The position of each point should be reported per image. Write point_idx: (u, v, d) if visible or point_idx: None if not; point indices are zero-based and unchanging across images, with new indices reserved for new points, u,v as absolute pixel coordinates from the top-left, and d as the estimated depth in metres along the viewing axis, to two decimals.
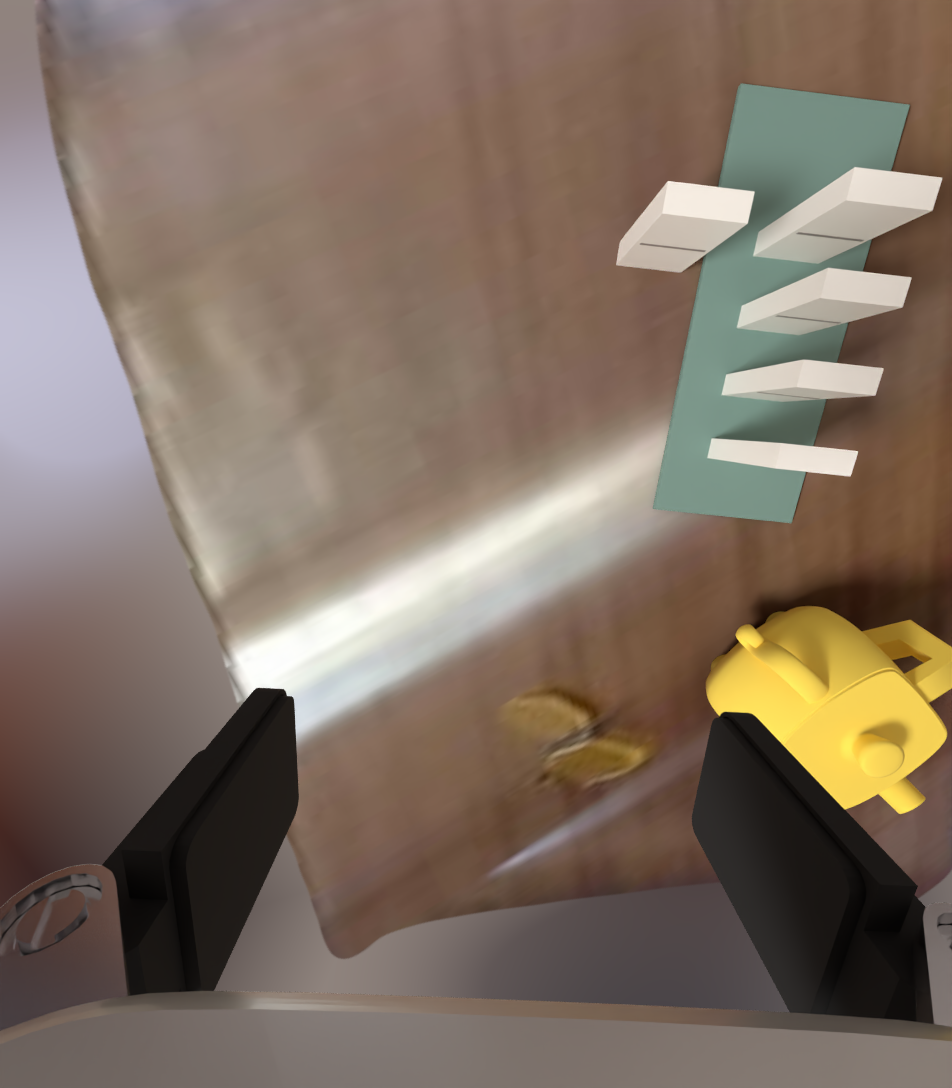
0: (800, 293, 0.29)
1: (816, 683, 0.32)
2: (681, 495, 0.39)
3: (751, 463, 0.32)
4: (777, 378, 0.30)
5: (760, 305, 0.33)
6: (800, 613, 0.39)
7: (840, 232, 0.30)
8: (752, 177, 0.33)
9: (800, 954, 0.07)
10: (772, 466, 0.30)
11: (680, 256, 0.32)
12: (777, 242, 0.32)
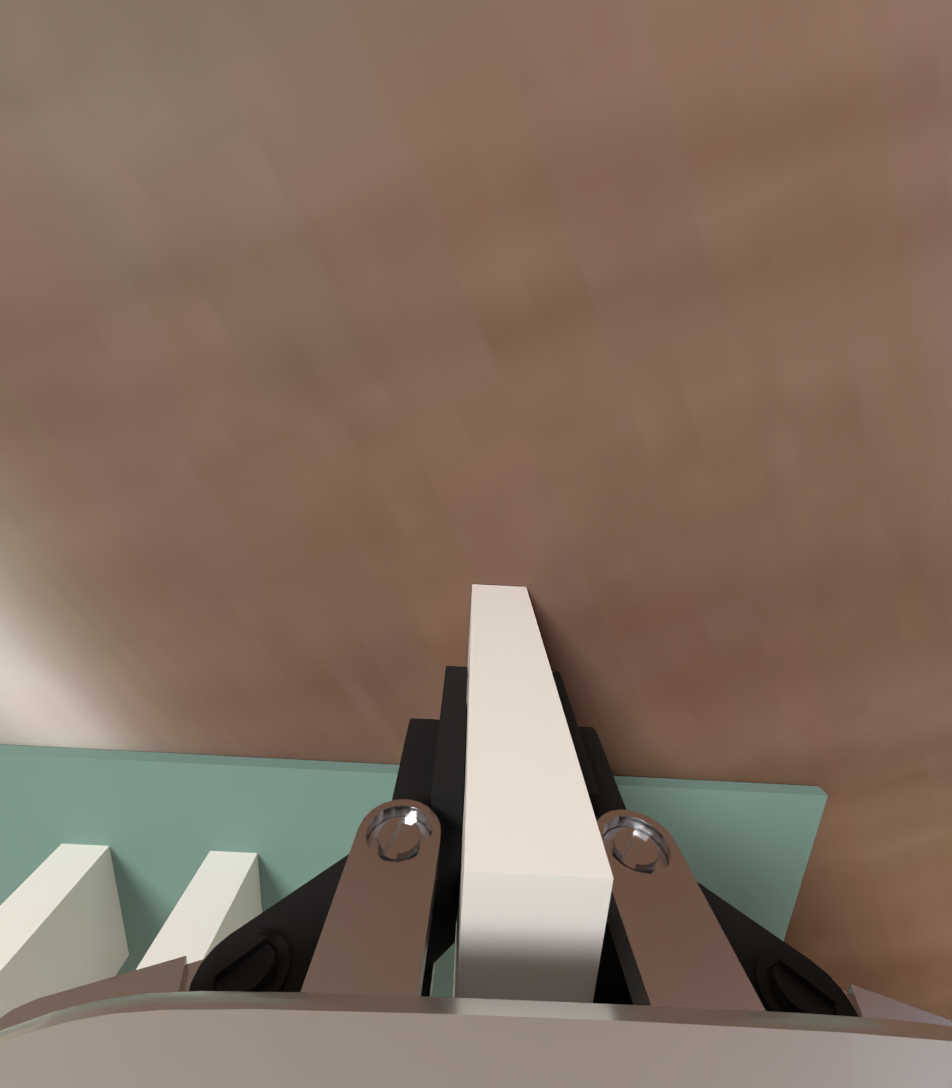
0: None
1: None
2: None
3: None
4: None
5: None
6: None
7: None
8: None
9: None
10: None
11: None
12: None
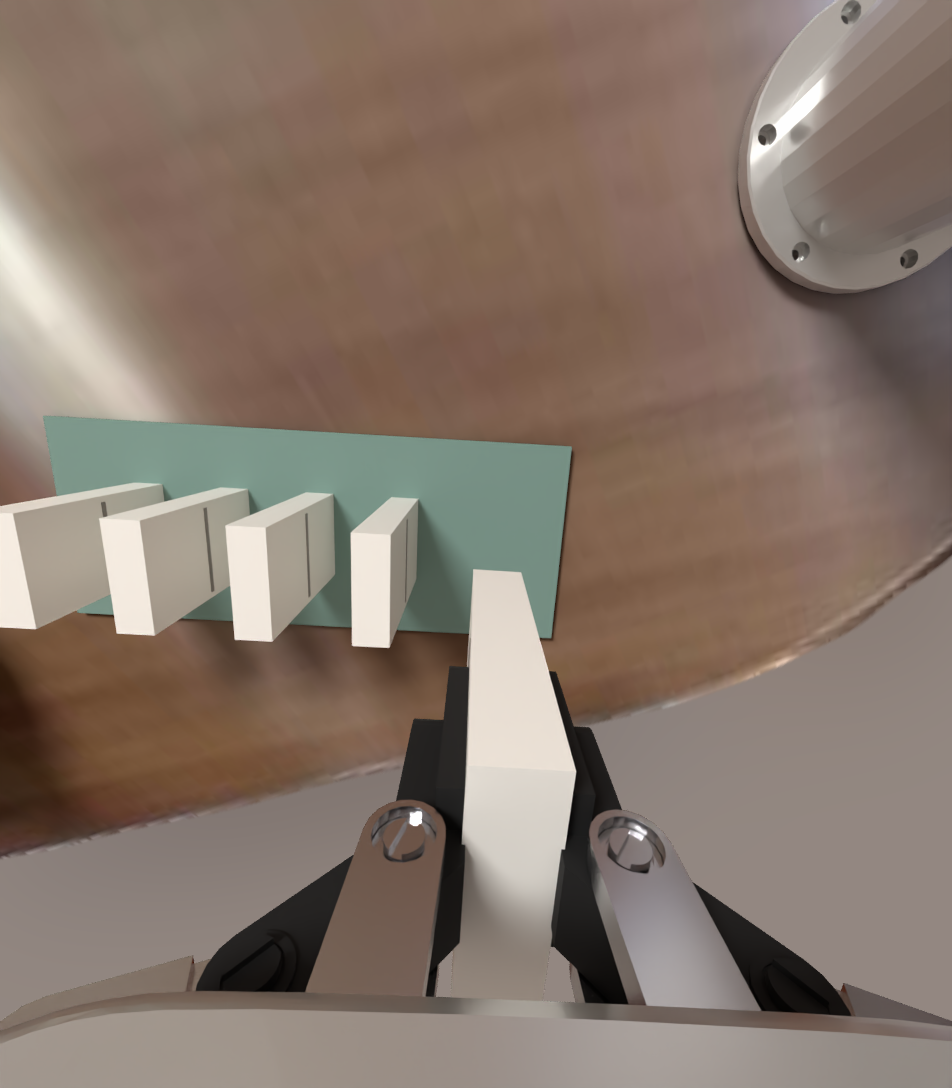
0: (265, 516, 0.20)
1: None
2: (73, 453, 0.27)
3: (36, 500, 0.21)
4: (153, 509, 0.20)
5: (307, 500, 0.25)
6: None
7: None
8: (475, 480, 0.27)
9: None
10: None
11: None
12: (381, 506, 0.25)
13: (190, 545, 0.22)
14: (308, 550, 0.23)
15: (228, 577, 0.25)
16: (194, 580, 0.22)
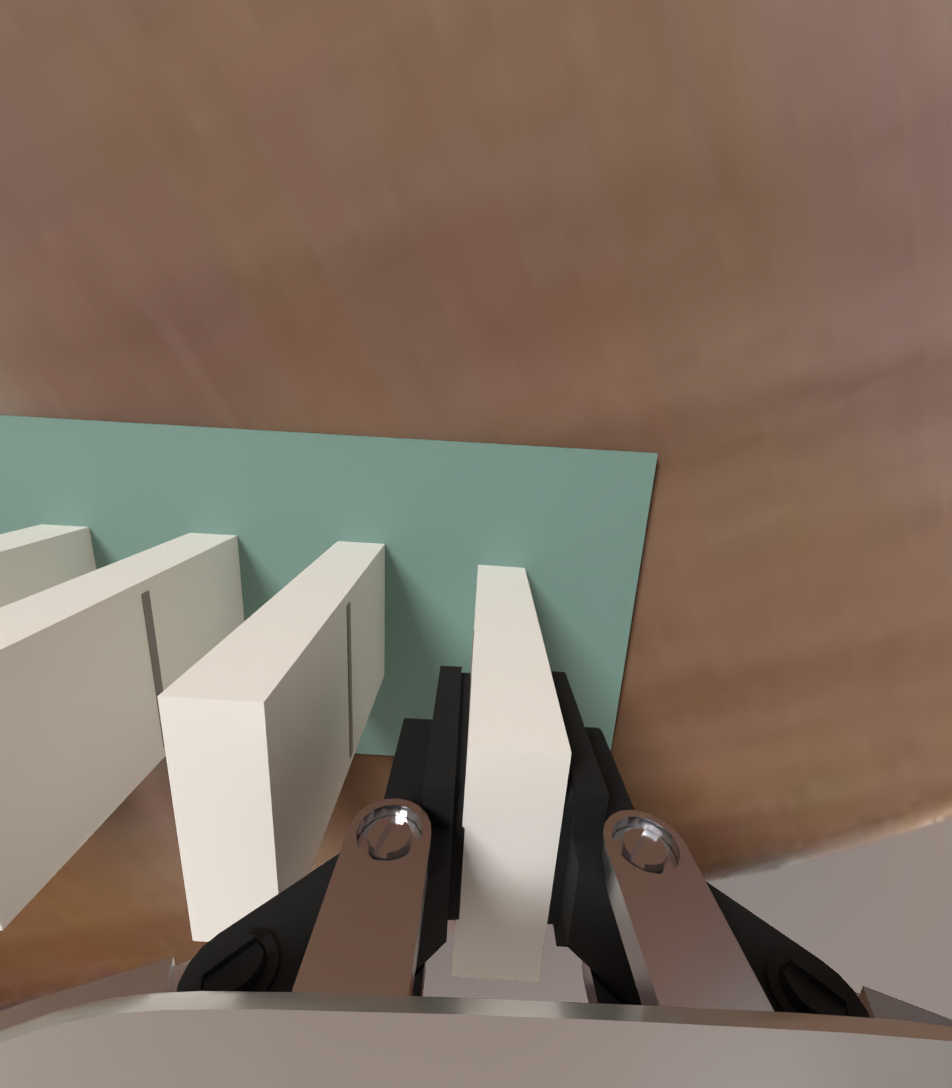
0: (4, 622, 0.09)
1: None
2: None
3: None
4: None
5: (167, 557, 0.13)
6: None
7: None
8: (485, 512, 0.15)
9: None
10: None
11: None
12: (308, 568, 0.13)
13: None
14: (158, 661, 0.12)
15: None
16: None
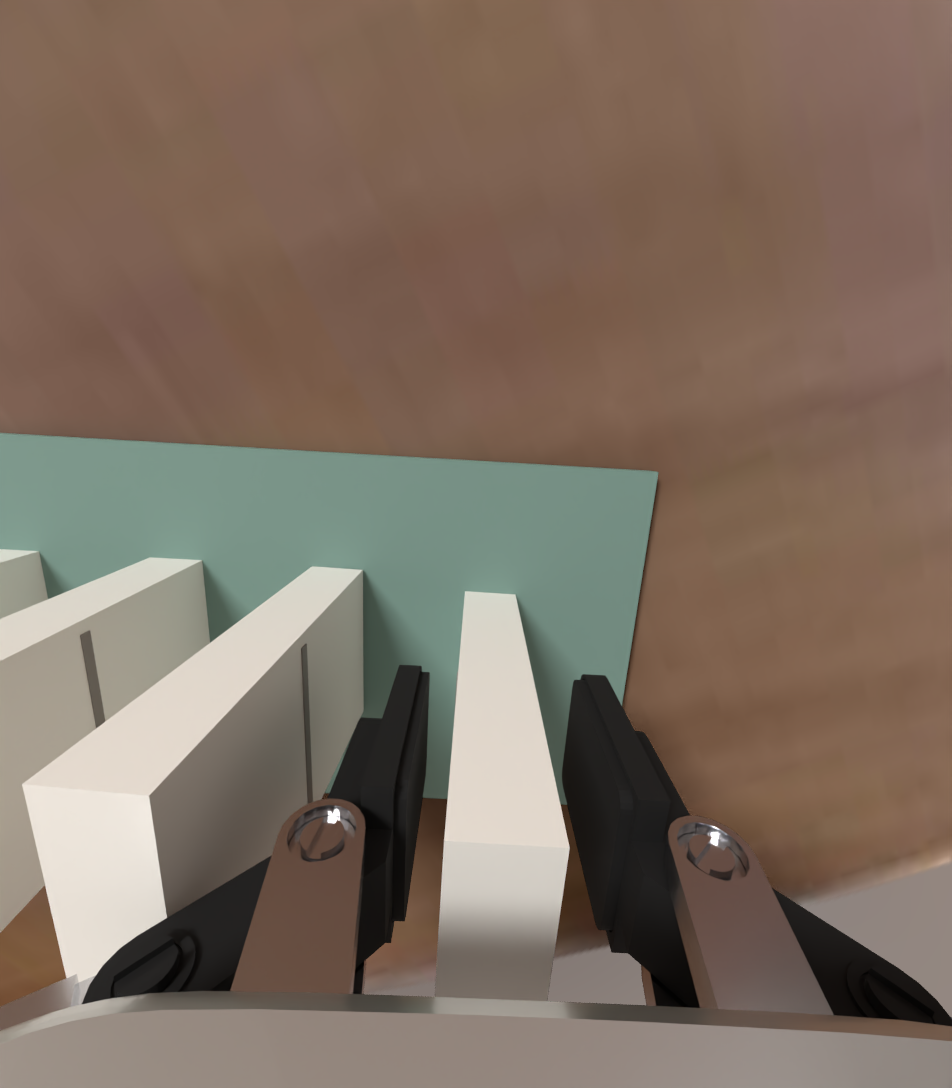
0: None
1: None
2: None
3: None
4: None
5: (118, 588, 0.12)
6: None
7: None
8: (472, 534, 0.14)
9: (600, 869, 0.08)
10: None
11: None
12: (269, 600, 0.12)
13: None
14: (102, 708, 0.11)
15: None
16: None
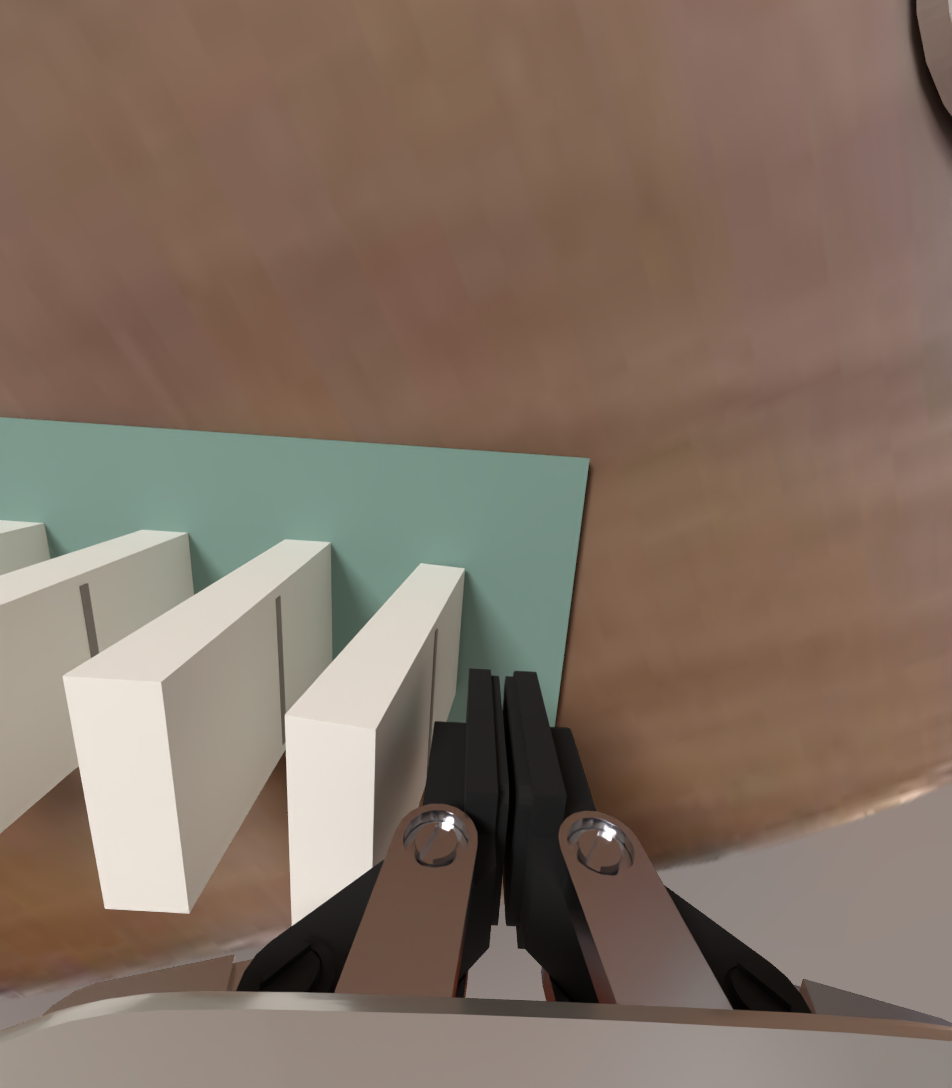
0: None
1: None
2: None
3: None
4: None
5: (112, 552, 0.14)
6: None
7: None
8: (426, 512, 0.16)
9: (509, 865, 0.08)
10: None
11: None
12: (247, 564, 0.14)
13: None
14: (97, 651, 0.12)
15: None
16: None
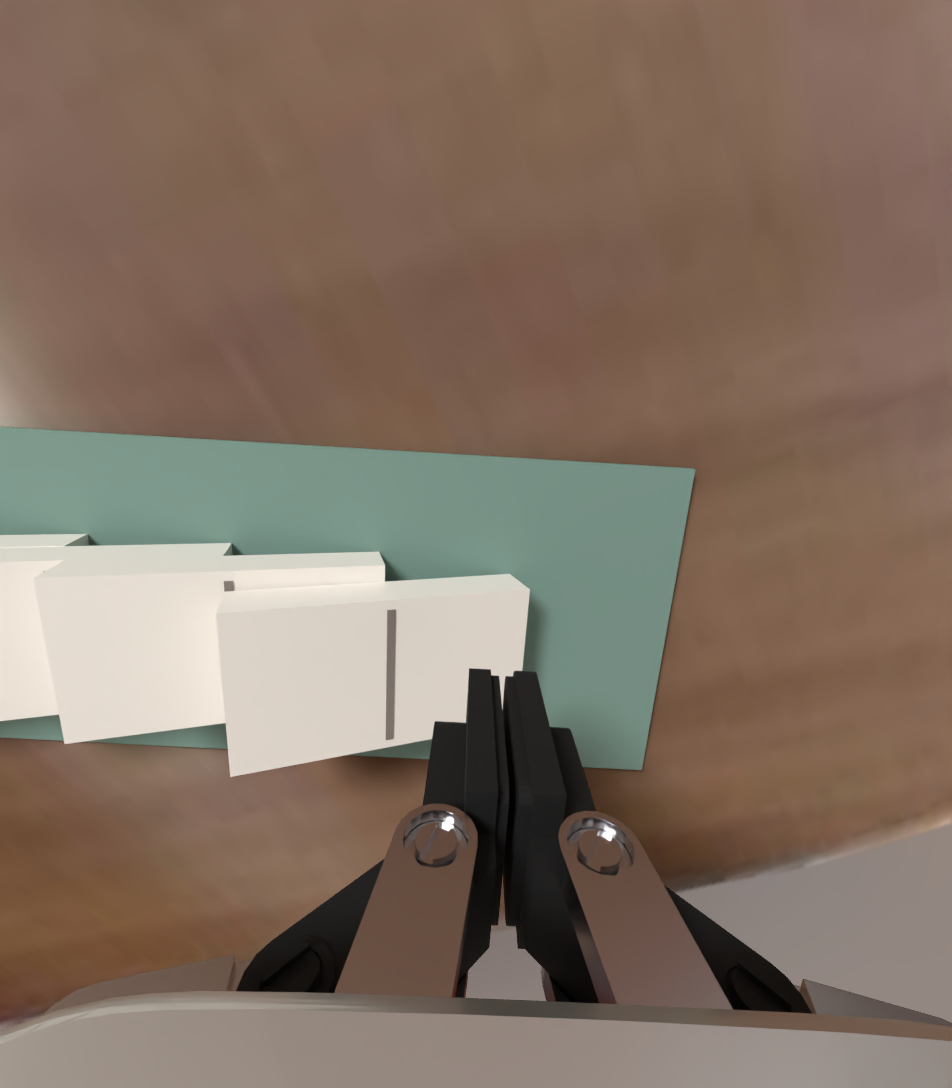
0: None
1: None
2: None
3: None
4: None
5: (130, 552, 0.14)
6: None
7: None
8: (529, 524, 0.16)
9: (509, 865, 0.08)
10: None
11: None
12: (295, 555, 0.15)
13: None
14: None
15: None
16: None
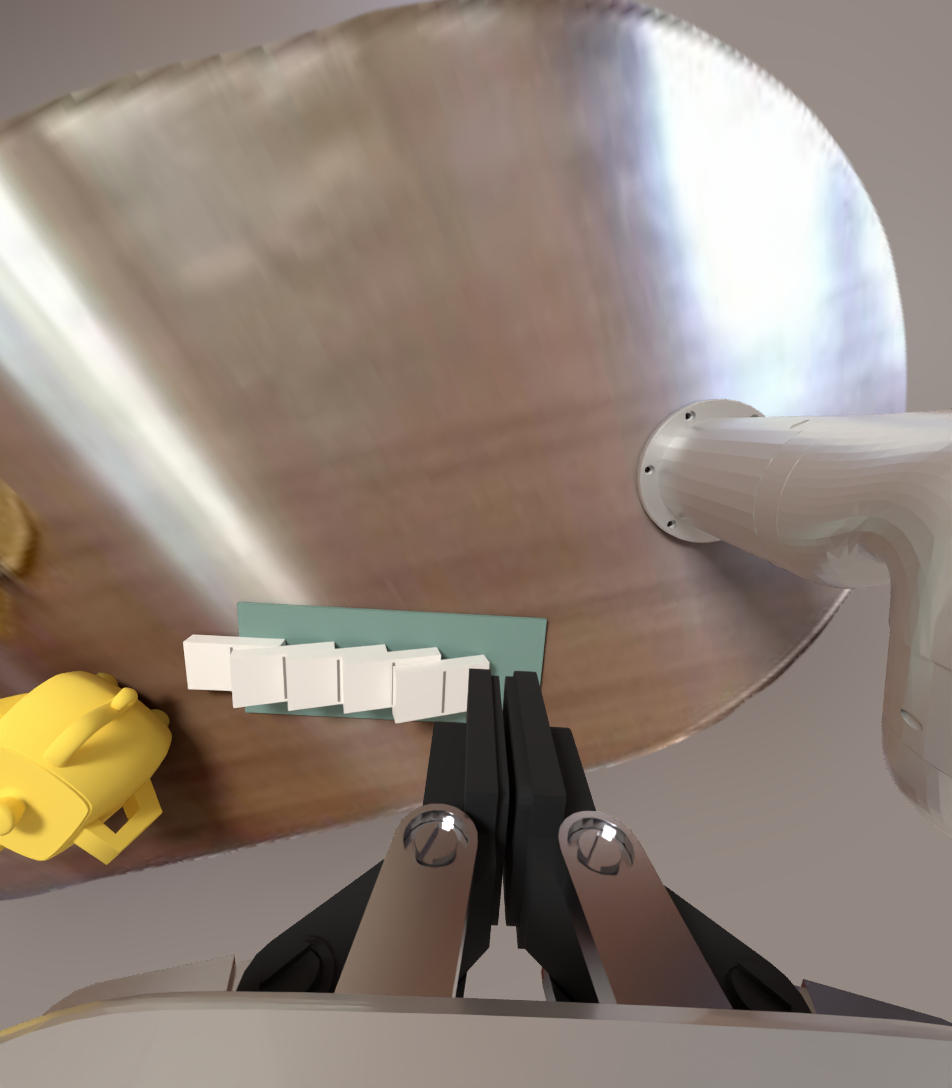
0: (309, 655, 0.43)
1: (61, 757, 0.37)
2: (252, 623, 0.45)
3: (219, 636, 0.45)
4: (256, 651, 0.43)
5: (357, 651, 0.44)
6: (157, 734, 0.45)
7: None
8: (490, 637, 0.45)
9: (509, 865, 0.08)
10: (195, 635, 0.45)
11: None
12: (409, 650, 0.45)
13: (267, 673, 0.43)
14: (339, 678, 0.43)
15: None
16: (269, 690, 0.43)
